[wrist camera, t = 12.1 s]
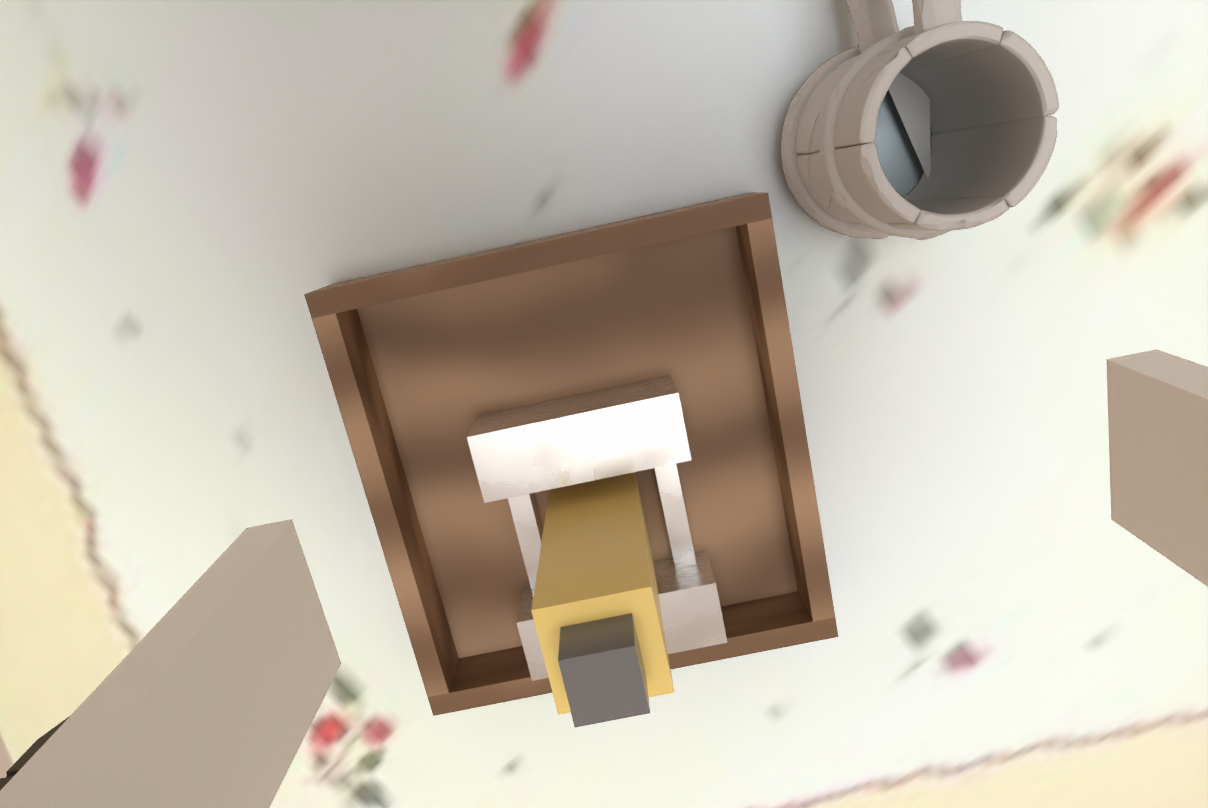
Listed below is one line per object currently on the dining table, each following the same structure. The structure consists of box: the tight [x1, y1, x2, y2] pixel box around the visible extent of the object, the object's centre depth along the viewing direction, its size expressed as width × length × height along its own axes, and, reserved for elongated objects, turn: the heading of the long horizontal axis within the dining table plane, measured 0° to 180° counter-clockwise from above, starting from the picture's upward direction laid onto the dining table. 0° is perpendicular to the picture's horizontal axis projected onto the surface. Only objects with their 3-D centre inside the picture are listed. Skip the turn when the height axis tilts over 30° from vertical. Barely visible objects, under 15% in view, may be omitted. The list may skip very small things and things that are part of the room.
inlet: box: [467, 375, 728, 681], centre depth 37 cm, size 12×9×3 cm
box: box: [305, 193, 838, 716], centre depth 37 cm, size 20×19×4 cm
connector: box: [531, 472, 674, 727], centre depth 32 cm, size 4×4×14 cm
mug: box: [781, 0, 1059, 240], centre depth 29 cm, size 8×12×12 cm, turn 12°
